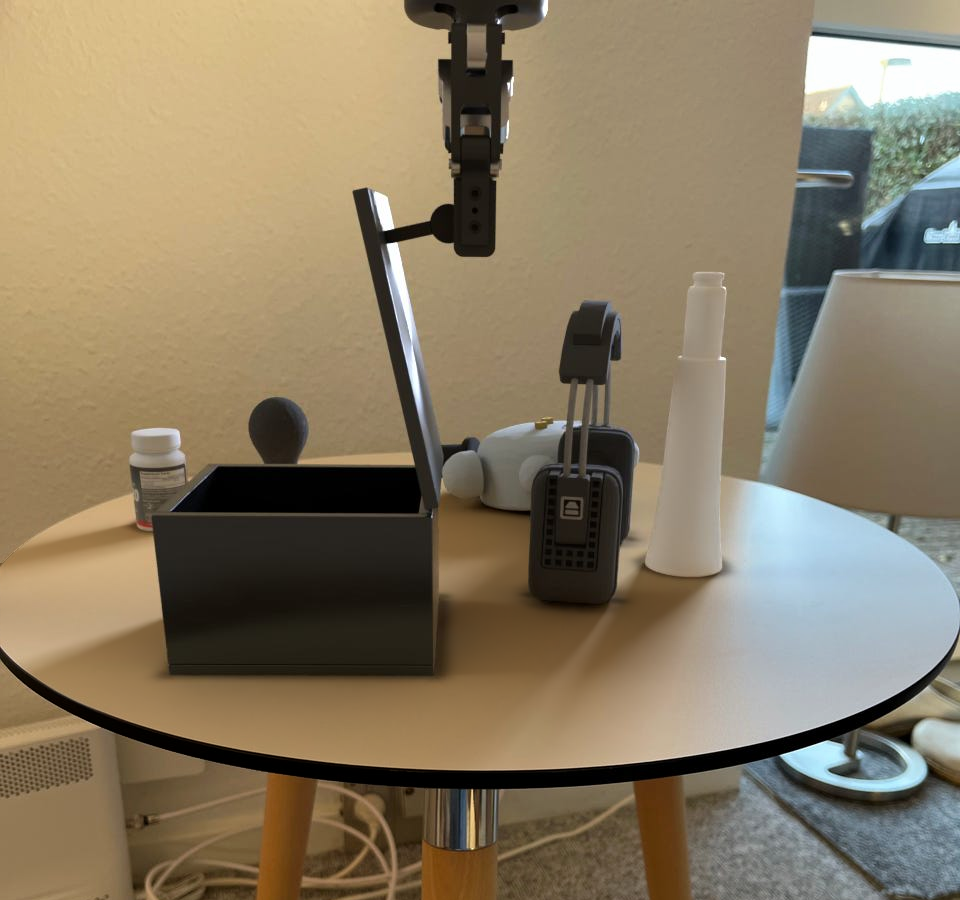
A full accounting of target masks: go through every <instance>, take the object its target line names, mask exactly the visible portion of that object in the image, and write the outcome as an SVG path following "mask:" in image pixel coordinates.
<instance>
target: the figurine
mask: <svg viewBox="0 0 960 900" xmlns="http://www.w3.org/2000/svg"><path fill="white" fill-rule="evenodd" d="M566 422H567V420H554V417H553V416H552V417H551V416H547V417H542V418H540V420H539V421H535V422H533V421H532V422H526V423H519V424H515V425H512V426H511V425H510V426H508V427H505V428H502V429H499V430H496V431H494V432H492V433H490V434H488V435H487V436H485V437H484V438H483V439H482V440H481V441H480V440H479V439H478V438H477V437H476V436H467V437H465V438H464V439H463V440H462V442H461V443H450V444H449V443H448V444H441V446H442V451H443V455H444V458H443V469H442V482H443V485H444V486H443V487H444V488H445V489H446V491H447V492H448V493H450V494H451V495H453V496H454V497H456V498H459V499H466V500H467V499H473V498H478V497H479V498H480V501H481V502H482V503H483V504H484V505H485V506H488V507H491V508H494V509H500V510H504V511H505V510H506V511H521V512H523V511H524V512H526V511H527V512H528V511H531V488H532V484H533V479H534V478H535V476H536V474H537V472H538V471H539V470H540V468H542V467H543V466H545V465H549V464H556V463H557V457H558V445H559V441H560V438H561V437H562V435H563V433H564V432H565V431H566ZM590 423H591V422H589V424H590ZM579 425H582V420H574V424H573V427H577V426H579ZM634 444H635V459H634V468H635V467H637V465H638V463H639V460H640V449H639V446H638V444H637V442H635V441H634Z"/></svg>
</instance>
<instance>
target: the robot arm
mask: <svg viewBox="0 0 960 900" xmlns="http://www.w3.org/2000/svg"><path fill="white" fill-rule="evenodd" d="M548 1H549V0H403V9H404V13H405V16H406V17H407V18H408V19H409V20H410V21H411V22H412V23H414V24H416V25H418V26H421V27H423V28H427V29H432V30H437V31H438V30H446V31H447V44H449V45H450V58H437V92H438V93H437V94H438V97H439V102H440V104H441V127H442V128H441V129H442V130H441V132H442V139H443V141H444V149H445V150H446V151H447V153H448V154H450V158H448V170H450V178H451V179H453V205H454V243H453V251H454V253H455V254H456V255H457V256H458V257H461V258H489V257H491V256H493V254H494V253H495V251H496V239H497V237H496V234H497V226H496V225H497V178H499V177H500V171H502V169H503V159H502V158H501V155H503V154H504V147H505V143H506V142H507V141H508V137H509V125H510V123H509V122H510V111H509V110H510V109H509V107H510V106H509V105H510V102H511V98H512V96H513V88H514V87H513V86H514V85H513V84H514V60H513V59H502V58H503V45H506V32H503V31H510V32H513V31H514V32H515V31H520V30H525V29H529V28H532V27H536V25H539V24H541V22H542V21H543V20H544V19H545V18H546V16H547V12H548V3H549V2H548Z"/></svg>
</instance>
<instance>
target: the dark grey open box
mask: <svg viewBox="0 0 960 900" xmlns="http://www.w3.org/2000/svg"><path fill="white" fill-rule="evenodd" d="M151 519H152V528H153V531H152V535H153V536H152V537H153V545H154V553H155V563H156V571H157V578H158V588H159V596H160V605H161V615H162V622H163V630H164V631H163V632H164V640H165V649H166V657H167V664H168V665H167V667H168V674H169V676H316V677H317V676H321V677H324V676H325V677H326V676H330V677H332V676H335V677H337V676H338V677H339V676H340V677H343V676H345V677H346V676H347V677H348V676H349V677H350V676H351V677H352V676H353V677H354V676H355V677H359V676H360V677H366V676H367V677H368V676H369V677H384V676H385V677H402V676H403V677H433V676H434V674H435V663H436V662H435V660H436V648H437V647H436V646H437V634H438V633H437V632H438V617H439V606H440V605H439V604H440V556H439V554H440V536H439V535H440V534H439V533H440V530H439V529H440V528H439V527H440V524H439V507H438V508H435V509H430V510H425V507H424V503H423V499H422V494H421V490H420V486H419V481H418V477H417V473H416V468H415V464H351V463H350V464H347V463H346V464H343V463H342V464H341V463H338V464H337V463H336V464H333V463H331V464H330V463H329V464H328V463H327V464H326V463H323V464H322V463H321V464H320V463H319V464H318V463H308V464H307V463H297V464H264V463H207V464H206V465H205V466H204V467H203V468H202V469H200V471H198V473H196V474H195V475H193V477H192V478H191V479H190V480H188V483H187V484H185V485H184V486H183V487H182V488H181V489H180V490H179V491H178V492H177V493H176V494H174V495H173V496H172V497H171V498H170V499H169V500H168V501H167V502H166V503H165V504H163V505H162V506H161V507H160V508H159V509H158V510H157V511H156V512H155V513H154V514H153V515H152V516H151Z"/></svg>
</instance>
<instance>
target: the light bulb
mask: <svg viewBox="0 0 960 900" xmlns="http://www.w3.org/2000/svg"><path fill="white" fill-rule="evenodd" d="M247 424H248V425H247V426H248V428H247V429H248V435H249V439H250V441H251V444H252V446H253V447H254V449H255V450H256V452H257V454H258V455H259V456H260V458H261V460H262V462H263V464H299V460H300V456H301V455H302V453H303V451H304V448H305V446H306V444H307V441H308V438H309V431H310V426H309V422H308V417H307V415H306V413H305V412H304V410H303V409H302V408H301V406H299V405H298V404H297V403H296V402H295V401H293V400H291V399H289V398H287V397H283V396H272V397H267V398H265V399H263V400H262V401H260V402H258V404H257V405H256V406H255V407H254V408H253V409H252V411H251V413H250V415H249V418H248V423H247Z"/></svg>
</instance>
